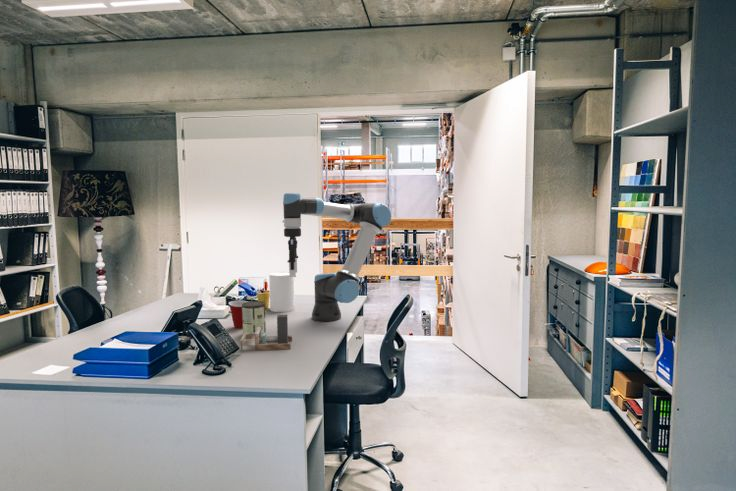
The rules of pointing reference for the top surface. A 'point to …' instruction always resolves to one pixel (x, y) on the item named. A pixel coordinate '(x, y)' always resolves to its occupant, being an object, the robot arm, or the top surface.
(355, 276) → the robot arm
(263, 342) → the striker
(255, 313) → the coffee can
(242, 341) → the lane
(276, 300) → the canister
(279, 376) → the top surface
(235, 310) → the plastic cup
